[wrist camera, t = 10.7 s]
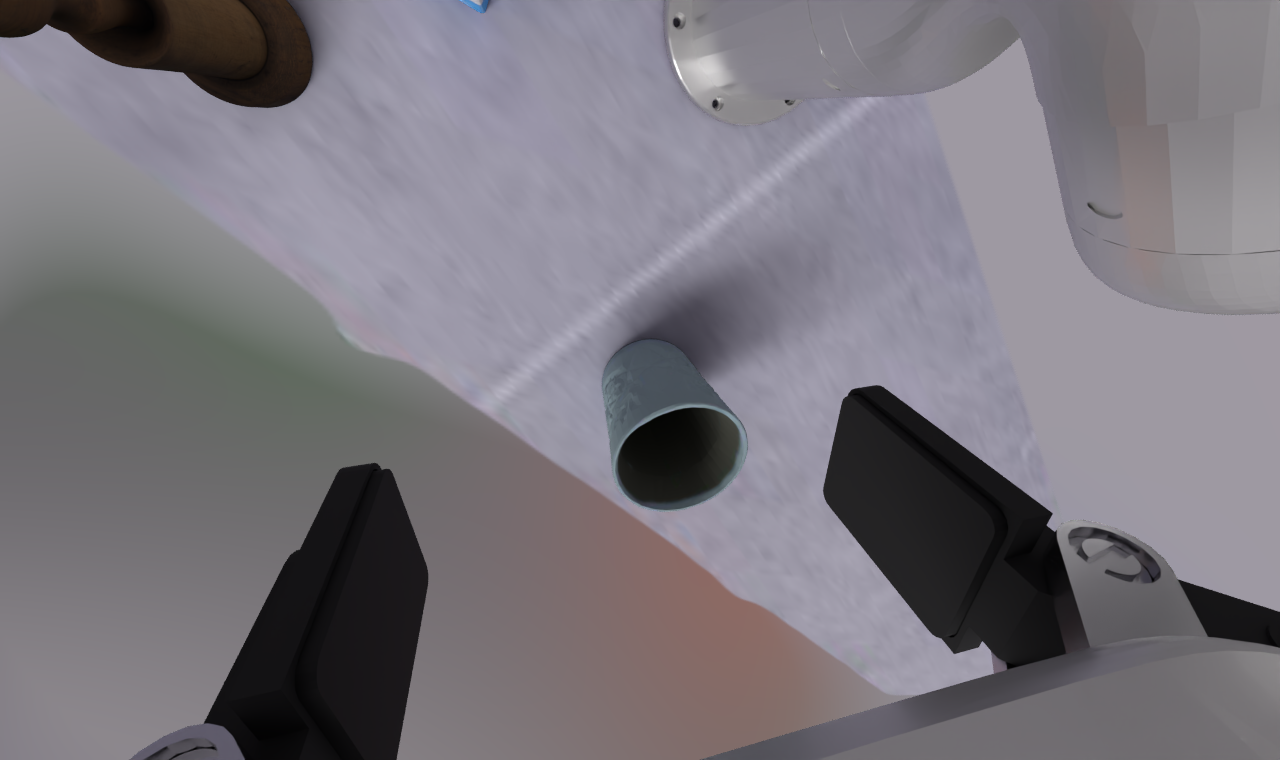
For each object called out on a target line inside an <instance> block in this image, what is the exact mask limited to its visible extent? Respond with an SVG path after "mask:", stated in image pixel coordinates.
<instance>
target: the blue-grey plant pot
mask: <svg viewBox="0 0 1280 760" xmlns="http://www.w3.org/2000/svg"><path fill="white" fill-rule="evenodd" d="M602 393H603V398H604V405H605V409H606V412H605V414H606V421H607V426H608V434H609V439H610V452H611V463H612V472H613V477H614V481H615V483H616V486H617V487H618V489H619V491H620V492H621V493H622V494H623V495H624V496H625V497H626V498H627V499H628V500H629V501H631V502H632V503H634V504H635V505H637V506H639V507H642V508H645V509H648V510H652V511H659V512H669V511H679V510H684V509H687V508H690V507H693V506H696V505H699V504H702V503H704V502H706V501H708V500H710V499H711V498H713V497H715V496H717V495H718V494H719V493H721V492H722V491H723V490H724V489H725V488H726V487H728V486H729V485H730V484H731V483H732V481H733V480H734V479H735V478H736V476H737V475H738V473H739V472H740V470H741V468H742V466H743V464H744V462H745V459H746V455H747V450H748V441H747V434H746V431H745V428H744V426H743V425H742V423H741V421H740V420H739V419H738V418H737V416H736V415H735V414H734V413H733V412H732V411H731V410H730V409H729V407H728V406H727V405H726V404H725V403H724V402H723V400H722V399H721V398H720V397H719V396H718V394H717V393H716V392H714V389H713V388H712V387H711V386H710V385H709V384H707V382H706V381H705V379H704V378H703V377H701V375H700V373H699V372H698V371H697V369H696V368H695V367H694V366H693V364H692V363H690V361H689V359H688V358H687V357H686V356H685V354H684V353H683V352H682V351H681V350H680V349H679V348H677V347H676V346H674V345H673V344H671V343H668V342H666V341H662V340H658V339H646V340H640V341H637V342H634V343H631V344H629V345H627V346H625V347H624V348H622V349H621V350H620V351H618V352H617V353H616V354H615V355H614V356H613V357H612V358H611V360H610V361H609V363H608V365H607V366H606V368H605V371H604V374H603V378H602Z"/></svg>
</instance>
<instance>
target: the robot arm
mask: <svg viewBox="0 0 1280 760" xmlns="http://www.w3.org/2000/svg"><path fill="white" fill-rule="evenodd" d="M674 18H676V19H677V20H678V21H679V25H678V27H675V26H674V25H673V20H674ZM664 34H665V41H666V48H667V53H668V56H669V60H670V63H671V66H672V69H673V72H674V74H675V76H676V78H677V80H678V82H679V84H680V86H681V88H682V89H683V91H684V92H685V93H686V94H687V96H688V97H689V98H690V100H691V101H692V102H693V103H694V104H695V105H696V106H697V107H698V108H700V109H701V110H702V111H703V112H704V113H706V114H707V115H709V116H711V117H713V118H715V119H716V120H718V121H722V122H725V123H729V124H732V125H743V126H748V125H761V124H764V123H767V122H770V121H773V120H776V119H778V118H780V117H782V116H784V115H785V114H787V113H789V112H791V111H792V110H793V109H794V108H796V107H797V106H798V105H799V104H800V103H802V102H803V101H804V100H805V99H827V98H857V97H886V96H897V95H914V94H921V93H926V92H931V91H935V90H938V89H941V88H944V87H947V86H950V85H952V84H954V83H957V82H958V81H961V80H963V79H964V78H966V77H968V76H970V75H972V74H973V73H975V72H977V71H978V70H980V69H982V68H983V67H984V66H986V65H987V64H989V63H990V62H992V61H993V60H994V59H995V58H996V57H998V56H999V55H1000V54H1001V53H1002V52H1004V51H1005V50H1006V49H1007V48H1008V47H1010V46H1011V45H1012V44H1013V43H1014V42H1015V41H1016V40H1018V38H1021V40H1022V43H1023V45H1024V48H1025V51H1026V54H1027V58H1028V61H1029V64H1030V69H1031V73H1032V77H1033V82H1034V87H1035V91H1036V96H1037V99H1038V101H1039V103H1040V104H1041V106H1042V107H1043V111H1044V116H1045V121H1046V126H1047V131H1048V135H1049V140H1050V145H1051V150H1052V154H1053V159H1054V164H1055V169H1056V174H1057V178H1058V183H1059V188H1060V193H1061V197H1062V202H1063V207H1064V211H1065V216H1066V221H1067V224H1068V227H1069V230H1070V233H1071V236H1072V239H1073V242H1074V246H1075V248H1076V250H1077V252H1078V254H1079V255H1080V257H1081V259H1082V261H1083V262H1084V263H1085V265H1086V266H1087V267H1088V268H1089V270H1090V271H1091V272H1092V273H1093V274H1094V275H1095V277H1097V278H1098V279H1099V280H1101V281H1102V282H1103V283H1104V284H1106V285H1107V286H1108V287H1110V288H1111V289H1113V290H1115V291H1117V292H1118V293H1120V294H1122V295H1124V296H1127V297H1129V298H1132V299H1134V300H1137V301H1140V302H1143V303H1145V304H1149V305H1153V306H1156V307H1160V308H1166V309H1171V310H1176V311H1185V312H1193V313H1204V314H1221V315H1251V314H1277V313H1280V0H665V4H664ZM713 100H715V101H716V103H717V105H716V107H715V108H713V107H712V102H713ZM785 100H787V101H786V102H785ZM823 492H824V497H825V500H826V502H827V504H828V505H829V506H830V508H831V509H832V510H833V511H834V513H835V514H836V515H837V516H838V518H839V519H840V520H841V521H842V523H843V524H844V525H845V526H846V528H847V529H848V530H849V531H850V533H851V534H852V535H853V536H854V538H855V539H856V540H857V541H858V543H859V544H860V545H861V546H862V548H863V549H864V550H865V551H866V553H867V554H868V555H869V556H870V558H871V559H872V560H873V561H874V563H875V564H876V565H877V566H878V568H879V569H880V570H881V571H882V573H883V574H884V575H885V576H886V578H887V579H888V580H889V581H890V583H891V584H892V585H893V586H894V588H895V589H896V590H897V591H898V593H899V594H900V595H901V596H902V598H903V599H904V600H905V601H906V603H907V604H908V605H909V606H910V608H911V609H912V610H913V611H914V613H915V614H916V615H917V616H918V618H919V619H920V620H921V621H922V623H923V624H924V625H925V626H926V628H927V629H928V630H929V631H930V632H931V633H932V634H933V635H934V636H936V637H938V638H942V640H943V641H944V642H945V643H946V644H947V646H948V647H949V648H950V649H951V651H952V652H953V653H954V654H956V653H960V652H963V651H967V650H970V649H974V648H978V647H979V646H980V644H981V642H982V641H983V642H984V643H985V644H986V645H987V647H988V648H989V649H990V650H991V654H992V662H993V670H994V674H991V675H988V676H984V677H981V678H977V679H974V680H970V681H967V682H963V683H960V684H957V685H953V686H950V687H946V688H943V689H939V690H936V691H932V692H929V693H925V694H922V695H918V696H915V697H912V698H908V699H905V700H901V701H898V702H894V703H891V704H887V705H884V706H880V707H877V708H874V709H870V710H867V711H864V712H860V713H857V714H853V715H850V716H846V717H843V718H840V719H837V720H833V721H829V722H826V723H823V724H819V725H816V726H812V727H809V728H806V729H802V730H799V731H796V732H793V733H789V734H785V735H782V736H779V737H775V738H772V739H769V740H765V741H762V742H758V743H755V744H752V745H748V746H745V747H741V748H738V749H735V750H731V751H728V752H725V753H721V754H718V755H714V756H711V757H708V758H704V759H701V760H1280V612H1278V611H1275V610H1272V609H1269V608H1266V607H1263V606H1259V605H1256V604H1253V603H1250V602H1247V601H1244V600H1241V599H1237V598H1234V597H1231V596H1228V595H1225V594H1222V593H1219V592H1216V591H1212V590H1209V589H1206V588H1203V587H1200V586H1196V585H1194V584H1190V583H1187V582H1184V581H1181V580H1178V579H1177V578H1176V575H1175V574H1174V572H1173V570H1172V569H1171V567H1170V566H1169V565H1168V563H1167V562H1166V561H1165V559H1164V558H1163V557H1161V555H1159V554H1158V553H1157V552H1156V551H1155V550H1154V549H1152V548H1151V547H1150V546H1148V545H1147V544H1145V543H1143V542H1142V541H1140V540H1139V539H1137V538H1136V537H1134V536H1132V535H1129V534H1127V533H1125V532H1123V531H1121V530H1119V529H1117V528H1113V527H1110V526H1107V525H1104V524H1101V523H1097V522H1091V521H1086V520H1071V521H1068V522H1065V523H1062V524H1061V525H1060V526H1059V527H1058V529H1057V530H1056V532H1054V531H1053V530H1051V529H1050V528H1049V527H1048V526H1046V525H1047V523H1048V521H1049V519H1050V518H1051V516H1052V514H1053V513H1052V512H1050V511H1049V510H1048V509H1046V508H1045V507H1044V506H1042V505H1041V504H1039V503H1038V502H1037V501H1035V500H1034V499H1033V498H1031V497H1030V496H1029V495H1027V494H1026V493H1025V492H1023V491H1022V490H1021V489H1019V488H1018V487H1017V486H1015V485H1014V484H1013V483H1011V482H1010V481H1009V480H1007V479H1006V478H1005V477H1003V476H1002V475H1001V474H999V473H998V472H997V471H995V470H994V469H993V468H991V467H990V466H988V465H987V464H986V463H984V462H983V461H982V460H980V459H979V458H978V457H976V456H975V455H974V454H972V453H971V452H970V451H968V450H967V449H966V448H964V447H963V446H962V445H960V444H959V443H958V442H956V441H955V440H954V439H952V438H951V437H950V436H948V435H947V434H946V433H944V432H943V431H941V430H940V429H939V428H937V427H936V426H935V425H933V424H932V423H931V422H929V421H928V420H927V419H925V418H924V417H923V416H921V415H920V414H919V413H917V412H916V411H915V410H913V409H912V408H911V407H909V406H908V405H907V404H905V403H904V402H903V401H901V400H900V399H899V398H897V397H896V396H895V395H893V394H892V393H890V392H889V391H888V390H886V389H885V388H884V387H882V386H878V385H875V386H869V387H862V388H856V389H853V390H851V391H850V392H849V394H848V396H847V397H845V398H844V399H843V402H842V405H841V410H840V414H839V419H838V423H837V428H836V433H835V437H834V442H833V446H832V451H831V455H830V460H829V465H828V469H827V474H826V478H825V483H824V488H823ZM427 587H428V570H427V566H426V562H425V560H424V557H423V554H422V552H421V549H420V546H419V544H418V541H417V538H416V536H415V533H414V530H413V527H412V525H411V522H410V519H409V517H408V514H407V511H406V508H405V506H404V503H403V500H402V498H401V495H400V492H399V490H398V487H397V484H396V481H395V478H394V476H393V473H392V472H391V470H390V469H384V470H381V468H380V466H379V465H378V464H376V463H371V464H365V465H358V466H351V467H346V468H342V469H340V470H339V472H338V473H337V475H336V477H335V479H334V481H333V483H332V485H331V487H330V489H329V491H328V493H327V495H326V497H325V499H324V502H323V503H322V505H321V508H320V510H319V512H318V514H317V516H316V518H315V520H314V522H313V524H312V526H311V528H310V530H309V532H308V534H307V536H306V538H305V540H304V543H303V544H302V547H301V549H300V550H296V552H294V553H293V554H291V555H290V556H289V558H288V559H287V561H286V562H285V564H284V566H283V568H282V570H281V572H280V574H279V576H278V578H277V580H276V582H275V584H274V586H273V588H272V590H271V592H270V594H269V596H268V597H267V599H266V602H265V603H264V606H263V607H262V610H261V611H260V613H259V615H258V617H257V619H256V621H255V623H254V625H253V627H252V629H251V631H250V633H249V635H248V637H247V639H246V641H245V643H244V645H243V647H242V649H241V651H240V653H239V655H238V657H237V659H236V661H235V663H234V665H233V667H232V669H231V671H230V673H229V675H228V677H227V679H226V681H225V682H224V685H223V687H222V689H221V691H220V692H219V694H218V696H217V698H216V701H215V702H214V704H213V706H212V708H211V710H210V712H209V715H208V716H207V718H206V720H205V722H204V724H200V725H194V726H188V727H185V728H183V729H180V730H178V731H175V732H173V733H170V734H168V735H166V736H164V737H162V738H160V739H159V740H157V741H155V742H154V743H152V744H151V745H149V746H147V747H146V748H144V749H142V750H141V751H139V752H138V753H137V754H136V755H134V756H133V757H132V758H131V759H130V760H396V759H397V753H398V748H399V742H400V737H401V731H402V726H403V720H404V715H405V708H406V703H407V698H408V693H409V687H410V681H411V676H412V670H413V665H414V659H415V654H416V648H417V643H418V637H419V632H420V626H421V620H422V615H423V609H424V604H425V598H426V593H427Z"/></svg>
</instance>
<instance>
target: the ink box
mask: <svg viewBox="0 0 1280 760" xmlns="http://www.w3.org/2000/svg"><path fill="white" fill-rule="evenodd" d="M460 1H461V2H463V3H464V4H466V5H468V6H469V7H471V8H473V9H474V10H476V11H478V12H480V13H485V11H486V9H487V5H488V1H489V0H460Z"/></svg>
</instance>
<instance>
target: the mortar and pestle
mask: <svg viewBox="0 0 1280 760" xmlns="http://www.w3.org/2000/svg"><path fill="white" fill-rule="evenodd" d="M46 24H48V25H49V26H51V27H53V28H55V29H58V30H60V31H63V32H67V33H69V34H70V35H71V36H72V37H73V38H74V39H75V40H76V41H77V42H78V43H80V44H81V45H82V46H83V47H85V48H86V49H88V50H89V51H91V52H92V53H94V54H95V55H97V56H99V57H101V58H103V59H105V60H107V61H110V62H112V63H115V64H118V65H121V66H126V67H132V68H141V69H153V70H164V71H174V72H183V73H184V74H185V75H186V76H187V77H188V78H189V79H191V80H192V81H193V82H194V83H195V84H196V85H198V86H199V87H200V88H202V89H203V90H205V91H206V92H208V93H209V94H211V95H213V96H215V97H217V98H219V99H221V100H223V101H226V102H229V103H232V104H235V105H240V106H246V107H261V108H271V107H278V106H282V105H285V104H288V103H290V102H292V101H294V100H295V99H296V98H298V97H299V96H300V95H301V94H302V93H303V91H304V90H305V88H306V87H307V85H308V83H309V80H310V76H311V70H312V51H311V46H310V42H309V38H308V36H307V33H306V30H305V28H304V26H303V24H302V22H301V20H300V18H299V17H298V15H297V14H296V12H295V11H294V9H293V8H292V7H291V5H290V4H289V3H288V2H287V1H286V0H0V37H7V38H13V37H23V36H27V35H30V34H33V33H35V32H37V31H39V30H40V29H42V28H43V27H44V26H45V25H46Z"/></svg>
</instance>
